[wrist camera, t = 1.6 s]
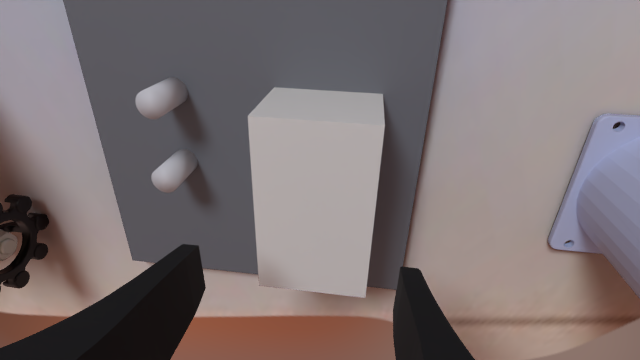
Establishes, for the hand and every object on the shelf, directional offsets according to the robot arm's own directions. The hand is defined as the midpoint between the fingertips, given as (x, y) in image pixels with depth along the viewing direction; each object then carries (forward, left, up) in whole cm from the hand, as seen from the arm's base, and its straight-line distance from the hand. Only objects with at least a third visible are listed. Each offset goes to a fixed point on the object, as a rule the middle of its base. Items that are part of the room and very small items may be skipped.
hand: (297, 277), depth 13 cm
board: (+4, -1, -9) cm, 10 cm away
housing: (0, 0, -8) cm, 8 cm away
